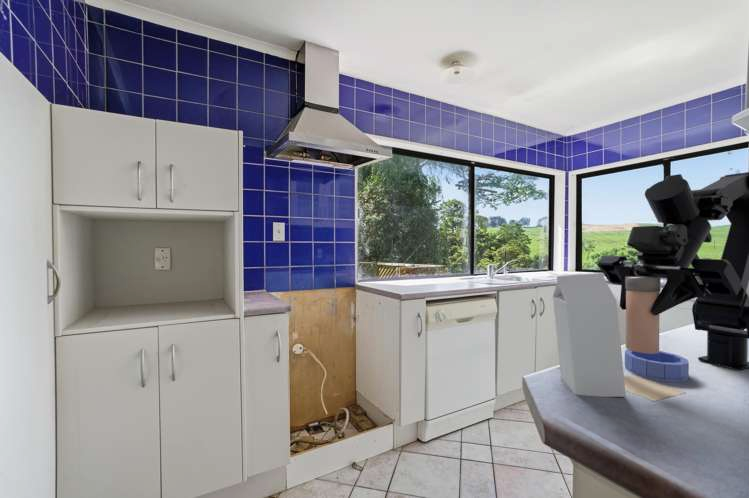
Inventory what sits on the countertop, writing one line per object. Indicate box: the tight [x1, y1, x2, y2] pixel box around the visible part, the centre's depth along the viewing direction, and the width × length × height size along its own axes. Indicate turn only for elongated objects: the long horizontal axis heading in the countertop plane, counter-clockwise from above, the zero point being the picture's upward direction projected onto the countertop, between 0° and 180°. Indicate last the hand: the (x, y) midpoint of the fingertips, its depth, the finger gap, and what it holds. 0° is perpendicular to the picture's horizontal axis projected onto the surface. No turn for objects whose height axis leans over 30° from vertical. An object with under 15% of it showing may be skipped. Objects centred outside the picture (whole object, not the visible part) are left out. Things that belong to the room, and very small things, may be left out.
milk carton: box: [552, 272, 627, 398], centre depth 57 cm, size 7×7×19 cm
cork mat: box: [624, 374, 686, 402], centre depth 57 cm, size 8×8×1 cm
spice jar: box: [625, 276, 662, 354], centre depth 57 cm, size 5×5×12 cm
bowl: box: [624, 348, 690, 383], centre depth 63 cm, size 9×9×4 cm
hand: (636, 310), depth 56 cm, fingers closed on spice jar, 4 cm apart
